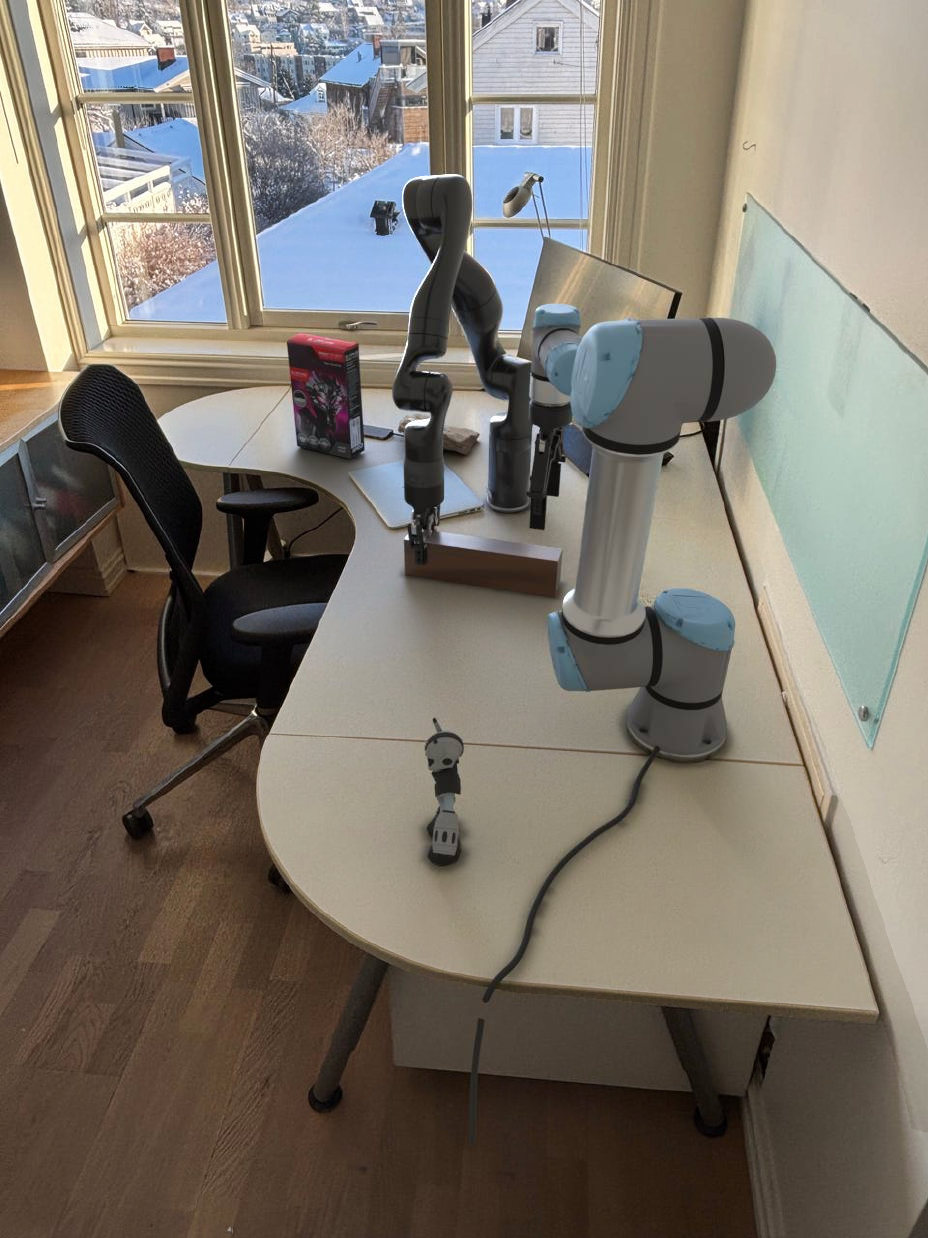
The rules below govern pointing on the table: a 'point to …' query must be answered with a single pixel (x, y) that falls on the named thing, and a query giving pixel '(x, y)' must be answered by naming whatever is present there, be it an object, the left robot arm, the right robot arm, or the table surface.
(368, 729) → the table surface
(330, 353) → the graphics card box
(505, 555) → the beam
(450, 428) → the stone
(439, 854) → the robot
